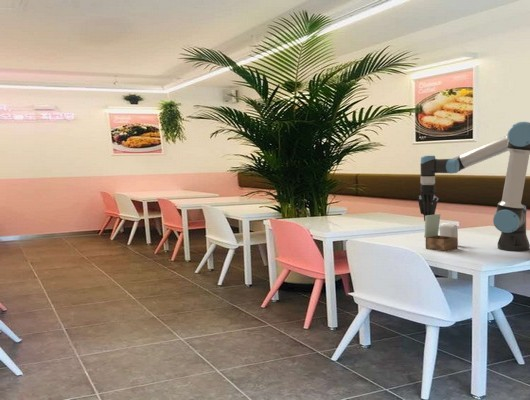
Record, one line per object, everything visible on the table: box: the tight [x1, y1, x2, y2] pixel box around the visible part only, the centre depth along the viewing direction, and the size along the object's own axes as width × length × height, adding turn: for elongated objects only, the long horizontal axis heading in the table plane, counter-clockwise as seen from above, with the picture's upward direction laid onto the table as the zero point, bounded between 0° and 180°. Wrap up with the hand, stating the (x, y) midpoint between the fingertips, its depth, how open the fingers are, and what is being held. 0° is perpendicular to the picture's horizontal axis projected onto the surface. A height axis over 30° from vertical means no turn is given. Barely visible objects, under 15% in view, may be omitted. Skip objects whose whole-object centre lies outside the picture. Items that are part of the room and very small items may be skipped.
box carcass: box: [425, 234, 459, 252], centre depth 269 cm, size 12×11×6 cm
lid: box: [424, 213, 441, 239], centre depth 273 cm, size 12×11×1 cm
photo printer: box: [439, 222, 459, 238], centre depth 279 cm, size 10×4×12 cm, turn 29°
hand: (427, 227), depth 275 cm, fingers closed
